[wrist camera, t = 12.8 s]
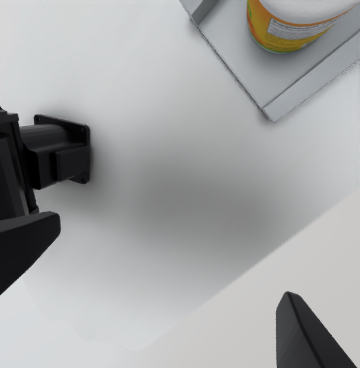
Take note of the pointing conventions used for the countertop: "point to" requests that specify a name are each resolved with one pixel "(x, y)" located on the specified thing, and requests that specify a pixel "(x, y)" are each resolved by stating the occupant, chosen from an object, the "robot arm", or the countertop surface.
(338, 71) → the tray
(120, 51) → the countertop surface
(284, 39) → the supplement bottle
